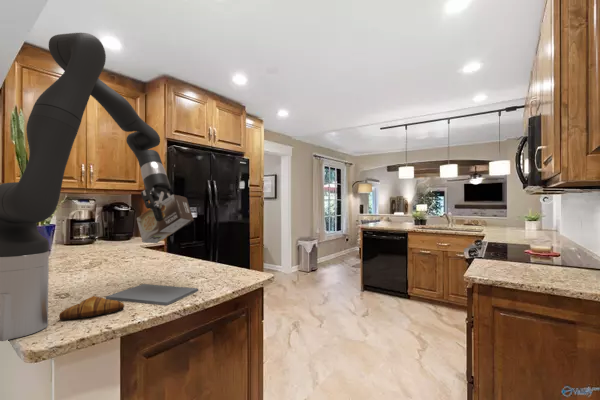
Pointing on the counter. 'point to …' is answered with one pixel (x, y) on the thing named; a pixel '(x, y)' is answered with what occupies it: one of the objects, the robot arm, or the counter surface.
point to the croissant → (91, 308)
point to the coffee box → (165, 219)
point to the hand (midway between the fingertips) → (168, 221)
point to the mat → (153, 294)
